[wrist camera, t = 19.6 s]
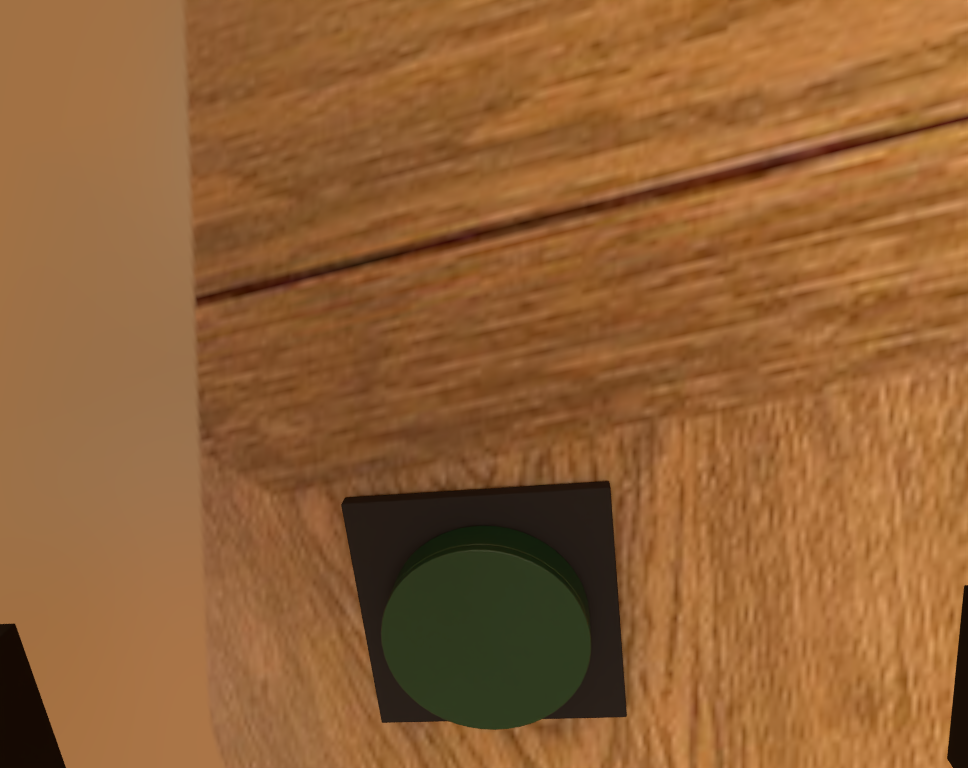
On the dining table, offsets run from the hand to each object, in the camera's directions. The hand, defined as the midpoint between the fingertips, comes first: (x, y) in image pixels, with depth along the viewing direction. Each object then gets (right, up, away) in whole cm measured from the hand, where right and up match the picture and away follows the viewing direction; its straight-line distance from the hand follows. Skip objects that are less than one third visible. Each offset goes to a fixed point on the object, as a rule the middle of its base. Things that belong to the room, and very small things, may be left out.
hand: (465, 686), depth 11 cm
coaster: (0, -4, +19) cm, 20 cm away
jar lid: (0, -5, +17) cm, 18 cm away
